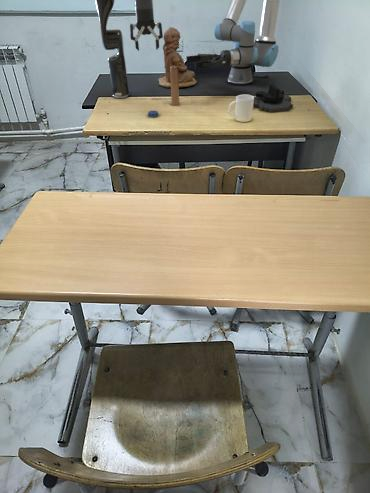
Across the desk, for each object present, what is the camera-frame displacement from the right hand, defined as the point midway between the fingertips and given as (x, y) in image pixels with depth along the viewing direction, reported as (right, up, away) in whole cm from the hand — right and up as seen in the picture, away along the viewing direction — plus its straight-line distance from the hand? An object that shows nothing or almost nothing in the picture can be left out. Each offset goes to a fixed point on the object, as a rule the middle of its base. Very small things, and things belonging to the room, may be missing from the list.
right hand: (190, 62), depth 183 cm
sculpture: (-8, +9, +41) cm, 43 cm away
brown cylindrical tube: (-8, -17, +11) cm, 22 cm away
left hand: (-20, -5, -21) cm, 29 cm away
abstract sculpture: (+42, -20, +5) cm, 47 cm away
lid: (-19, -27, -2) cm, 33 cm away
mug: (+24, -33, -9) cm, 41 cm away
